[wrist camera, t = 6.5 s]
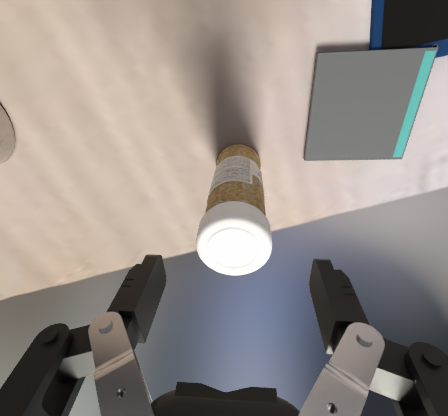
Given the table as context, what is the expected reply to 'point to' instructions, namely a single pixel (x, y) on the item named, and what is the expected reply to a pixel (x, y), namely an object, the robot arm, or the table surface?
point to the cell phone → (409, 25)
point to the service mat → (365, 103)
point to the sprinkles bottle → (235, 215)
